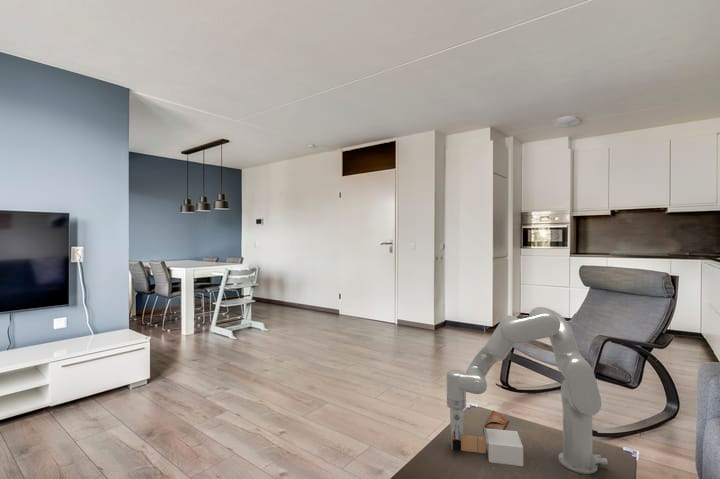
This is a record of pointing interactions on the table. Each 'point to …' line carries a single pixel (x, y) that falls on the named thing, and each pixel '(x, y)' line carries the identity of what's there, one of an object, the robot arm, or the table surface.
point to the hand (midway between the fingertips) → (456, 447)
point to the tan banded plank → (472, 443)
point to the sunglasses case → (496, 422)
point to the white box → (504, 447)
